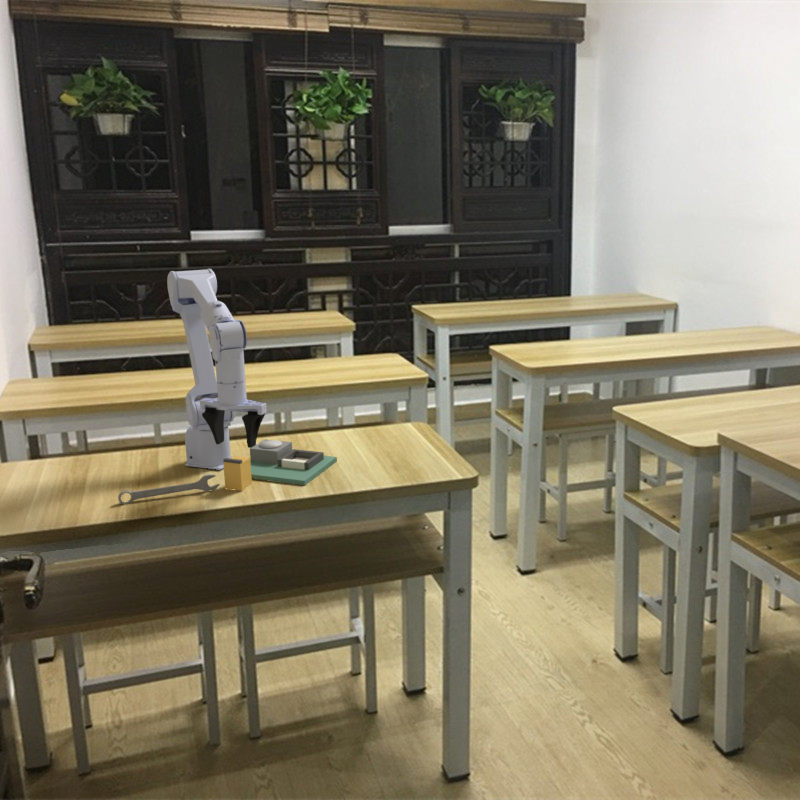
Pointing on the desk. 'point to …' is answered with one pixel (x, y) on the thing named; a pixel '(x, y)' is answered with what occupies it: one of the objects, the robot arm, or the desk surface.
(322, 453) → the board
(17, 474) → the desk surface
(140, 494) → the combination wrench
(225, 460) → the plug
